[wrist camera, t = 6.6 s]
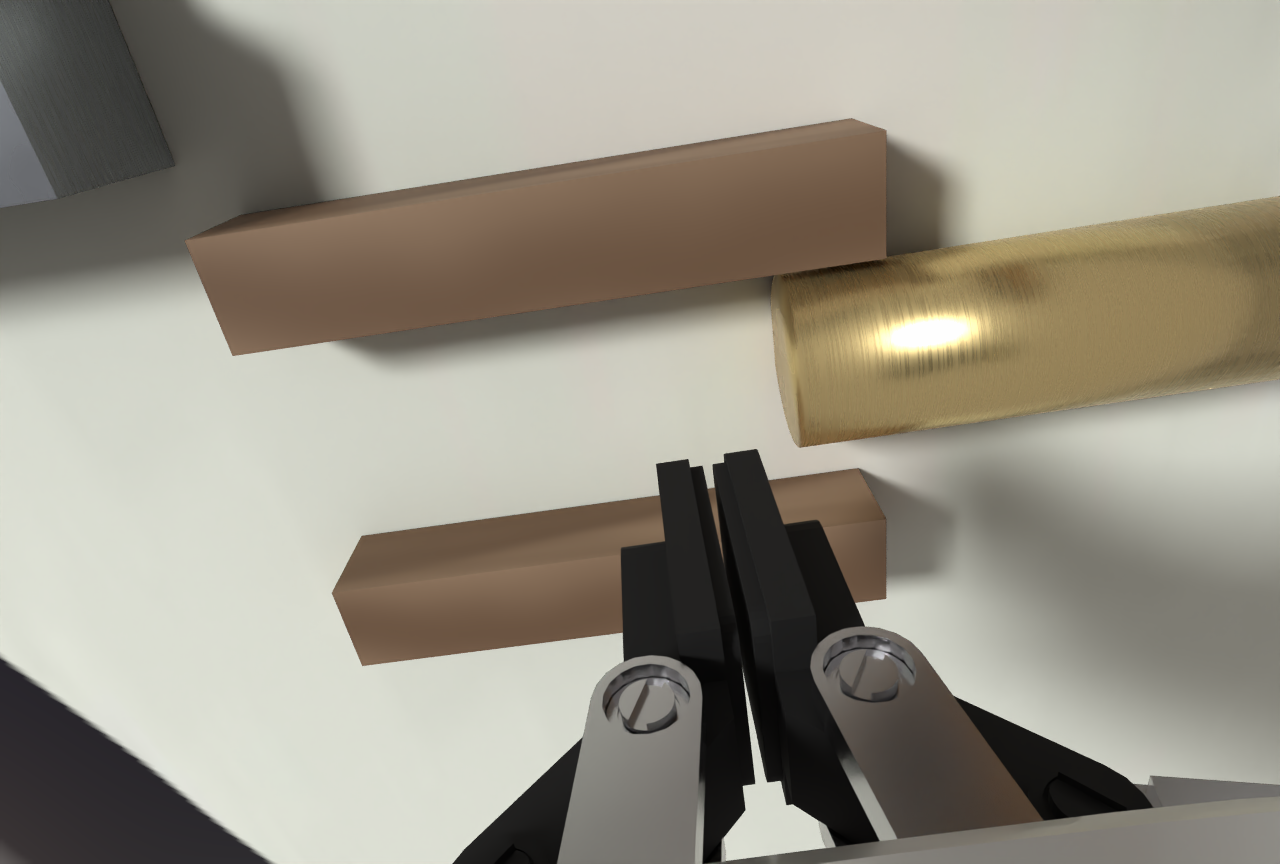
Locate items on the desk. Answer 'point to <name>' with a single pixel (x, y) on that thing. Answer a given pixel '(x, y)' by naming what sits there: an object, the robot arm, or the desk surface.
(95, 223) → the desk surface
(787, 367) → the axle
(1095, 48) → the desk surface
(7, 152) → the v block
